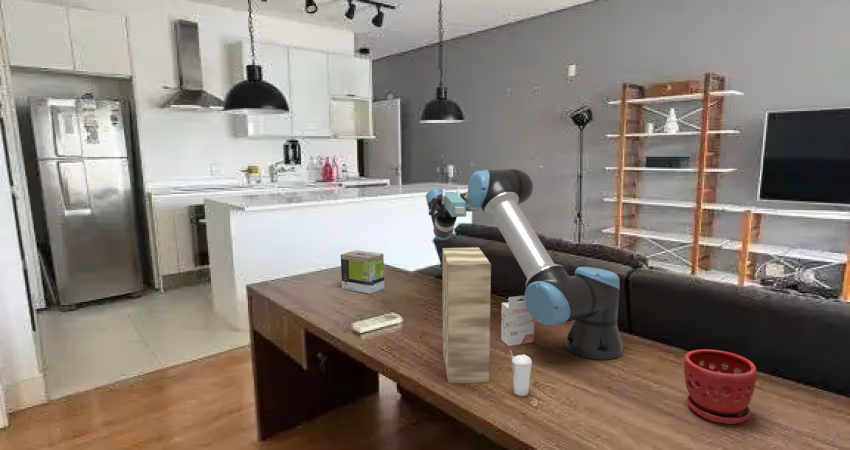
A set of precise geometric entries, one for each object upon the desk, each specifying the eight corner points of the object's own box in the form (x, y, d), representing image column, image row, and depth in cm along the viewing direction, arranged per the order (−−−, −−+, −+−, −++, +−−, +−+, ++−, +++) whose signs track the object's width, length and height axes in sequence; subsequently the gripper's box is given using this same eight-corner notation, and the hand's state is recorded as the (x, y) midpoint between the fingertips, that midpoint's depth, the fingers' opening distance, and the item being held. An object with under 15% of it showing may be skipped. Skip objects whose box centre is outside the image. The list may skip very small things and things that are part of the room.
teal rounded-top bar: (442, 203, 161) (442, 192, 160) (454, 203, 161) (454, 191, 160) (452, 218, 129) (452, 203, 128) (467, 218, 129) (467, 203, 128)
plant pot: (724, 395, 109) (729, 346, 107) (766, 428, 96) (773, 374, 94) (668, 396, 109) (672, 347, 107) (703, 430, 96) (709, 375, 94)
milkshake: (514, 385, 115) (515, 346, 113) (534, 392, 112) (535, 352, 110) (504, 392, 111) (505, 352, 110) (525, 400, 108) (526, 359, 106)
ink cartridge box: (526, 336, 144) (527, 290, 141) (534, 342, 139) (535, 295, 137) (500, 339, 142) (501, 292, 139) (507, 346, 137) (508, 297, 134)
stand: (442, 351, 134) (442, 248, 128) (477, 350, 134) (478, 247, 129) (448, 383, 116) (448, 264, 111) (489, 382, 116) (490, 263, 111)
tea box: (385, 288, 193) (384, 253, 191) (369, 295, 185) (368, 258, 183) (357, 283, 201) (355, 249, 199) (341, 289, 193) (339, 253, 190)
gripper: (469, 227, 173) (478, 202, 151) (422, 228, 172) (425, 203, 150) (468, 208, 175) (477, 181, 153) (422, 209, 174) (424, 182, 152)
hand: (451, 192), depth 152 cm, fingers closed on teal rounded-top bar, 4 cm apart
